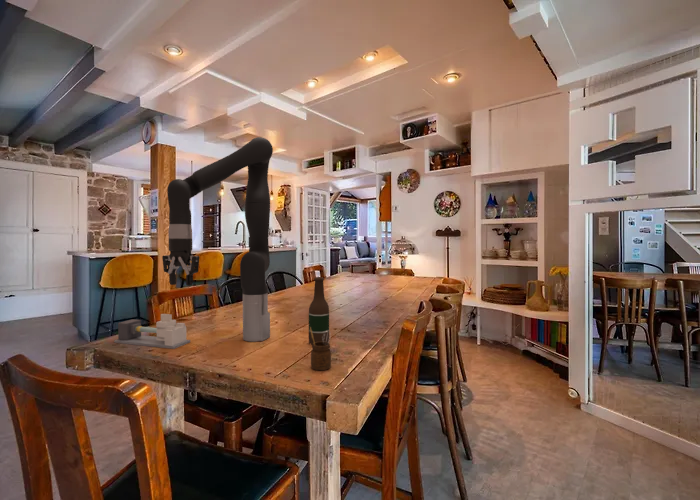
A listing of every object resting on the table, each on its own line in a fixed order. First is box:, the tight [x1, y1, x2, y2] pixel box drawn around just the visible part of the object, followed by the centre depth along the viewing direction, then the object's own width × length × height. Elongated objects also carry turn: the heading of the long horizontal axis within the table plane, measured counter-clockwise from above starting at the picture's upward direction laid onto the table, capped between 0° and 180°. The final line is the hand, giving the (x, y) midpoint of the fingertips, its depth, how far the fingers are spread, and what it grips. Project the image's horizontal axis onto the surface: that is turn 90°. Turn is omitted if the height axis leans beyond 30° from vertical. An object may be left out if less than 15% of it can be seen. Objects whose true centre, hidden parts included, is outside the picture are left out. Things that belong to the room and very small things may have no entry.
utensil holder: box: [310, 327, 332, 371], centre depth 102 cm, size 6×6×12 cm
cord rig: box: [114, 319, 191, 350], centre depth 126 cm, size 26×8×7 cm, turn 75°
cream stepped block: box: [155, 313, 177, 341], centre depth 124 cm, size 4×5×9 cm
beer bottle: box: [308, 276, 330, 345], centre depth 127 cm, size 8×8×24 cm
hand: (181, 284), depth 122 cm, fingers open, 6 cm apart
